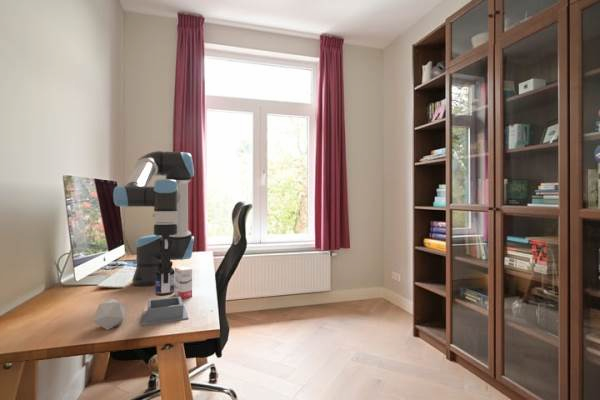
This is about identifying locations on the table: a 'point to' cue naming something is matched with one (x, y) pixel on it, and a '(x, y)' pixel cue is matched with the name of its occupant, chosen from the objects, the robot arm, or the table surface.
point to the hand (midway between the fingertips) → (165, 289)
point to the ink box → (183, 282)
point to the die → (110, 314)
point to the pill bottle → (158, 280)
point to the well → (164, 311)
